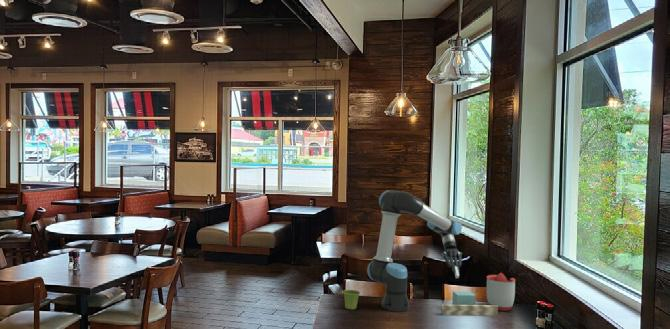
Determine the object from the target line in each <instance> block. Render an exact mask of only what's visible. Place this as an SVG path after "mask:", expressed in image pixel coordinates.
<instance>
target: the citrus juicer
mask: <svg viewBox="0 0 670 329" xmlns="http://www.w3.org/2000/svg"><path fill="white" fill-rule="evenodd" d="M515 294H516V278H514V277H511V278H509V280H508V279H507V277H506V276H505V274H503V273H502V272H500V273H498V274H488V275H487V276H486V300H487V304H488V305H497V306H498V311H500V312H504V311H505V312H506V311H510V310H512V308H513V304H514V302H515V296H516V295H515Z"/></svg>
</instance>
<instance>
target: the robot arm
mask: <svg viewBox="0 0 670 329" xmlns="http://www.w3.org/2000/svg"><path fill="white" fill-rule="evenodd" d="M378 203H379V207H380V208H381V210H380V212H381V214H382V219H381V225H380V232H379V237H378V244H377V250H376V255H375V256H373V257H372V261H370V263H368V265H367V268H366V269H367V270H366V271H367V275H368V277H369V279H370V280H371V281H374V282H375V283H378V284H381V285H384V286H385V292H384V296H383V299H382V301H381V308H383V310H386V311H390V312H400V313H401V312H406V311H409V310H410V302H409V299H408V295H407V290H408V289H407V288H408V269H407V267H406V266H405V265H403V264H400V263H397V262H394V260H393V259H392V254H393V248H394V240H395V234H396V231H397V230H396V228H397V224H398V218H399V217H401V215H402V212H403V213H407V214H411V215H412V216H418V217H419V218H421V219H423V220H425V221H426V225H427V227H428V228H429V229H430V230H432V231H434V232H435V233H437V234H439V235H440V236H441V240H442V245H443V249H444V251H442V252H441V256H442V257H443V259H444V261H445V263H446V265H447V267H448V268H450V269H452V273H454V277H455V279H459V278H460V271H461V270H460V268H461V267H462V257H463V256H462V255H463V252H462V251H461V252H460V251H459V250H458V248H457V242H456V239H455V236H456V235H457V236H458V235H460V234H461V232H462V231H463V230H462V229H463V227H462V224H461V223H460V222H457V221H453V220H451V219H449V218H448V217H446V216H445V215H444V214H441V213H440V212H438V211H436V210H434V209H433V208H432V207H430V206H428V205H426V204H425V203H424V201H423V200H422V199H420V198H419V197H417V196H416V195H413V194H411V193H410V192H407V191H402V190H401V191H399V190H393V189H391V190H389V189H388V190H385V191H384V192H382V193H381V195H380V196H379V199H378ZM454 235H455V236H454ZM457 256H458V257H457Z"/></svg>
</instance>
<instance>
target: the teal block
mask: <svg viewBox="0 0 670 329" xmlns="http://www.w3.org/2000/svg"><path fill="white" fill-rule="evenodd" d="M451 305H476V294H474V293H473V292H472V291H467V290H465V291H464V290H463V291H461V290H460V291H457V290H456V291H455V290H453V291H452V303H451Z"/></svg>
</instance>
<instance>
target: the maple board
mask: <svg viewBox="0 0 670 329" xmlns="http://www.w3.org/2000/svg"><path fill="white" fill-rule="evenodd" d="M498 312H499V310H498V306H497V305H489V304H488V305H487V304H483V305H482V304H475V305H452V304H441V312H440V313H441V315H443V316H471V317H472V316H479V317H480V316H482V317H483V316H485V317H486V316H487V317H488V316H489V317H498V316H499V315H498V314H499V313H498Z"/></svg>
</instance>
